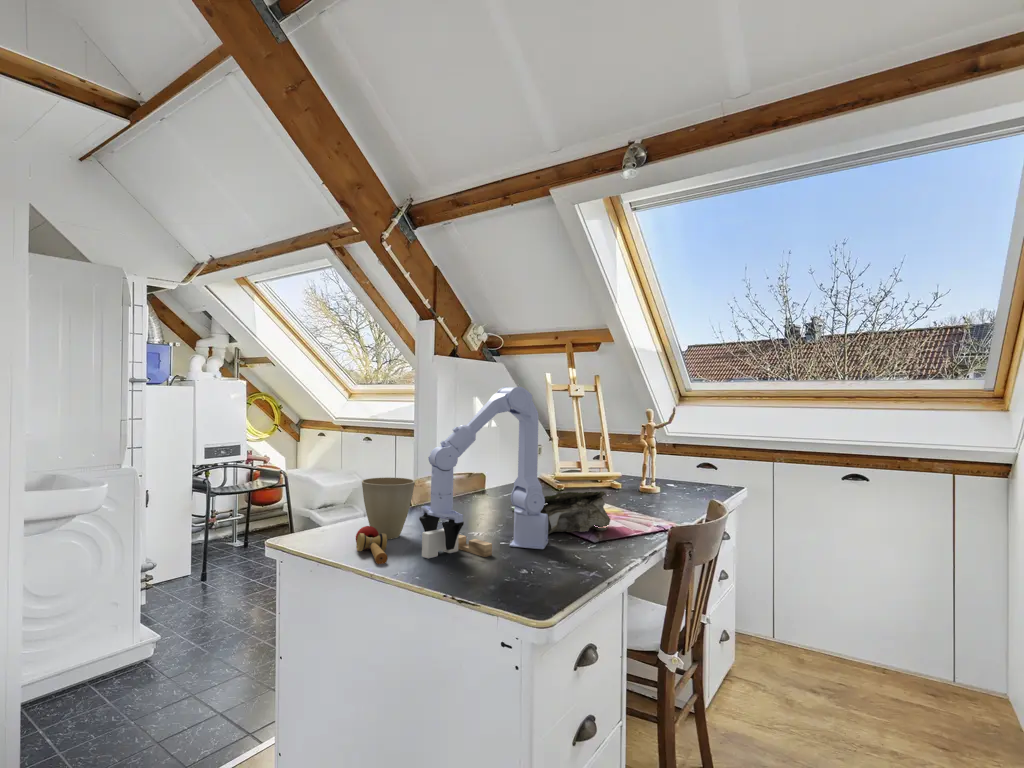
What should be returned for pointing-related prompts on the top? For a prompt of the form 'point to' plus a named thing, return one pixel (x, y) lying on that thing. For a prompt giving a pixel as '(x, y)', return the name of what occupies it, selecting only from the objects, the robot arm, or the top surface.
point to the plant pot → (387, 503)
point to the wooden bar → (475, 546)
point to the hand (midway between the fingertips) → (440, 546)
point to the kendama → (372, 543)
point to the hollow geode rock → (575, 511)
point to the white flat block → (435, 543)
